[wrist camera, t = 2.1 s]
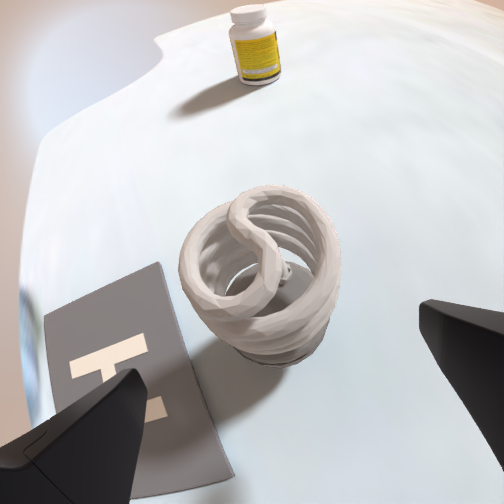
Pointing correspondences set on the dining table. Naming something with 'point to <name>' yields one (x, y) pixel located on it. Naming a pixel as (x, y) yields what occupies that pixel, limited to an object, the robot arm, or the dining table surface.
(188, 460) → the board
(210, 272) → the light bulb
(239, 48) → the supplement bottle
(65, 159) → the dining table surface
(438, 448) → the dining table surface
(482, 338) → the robot arm
